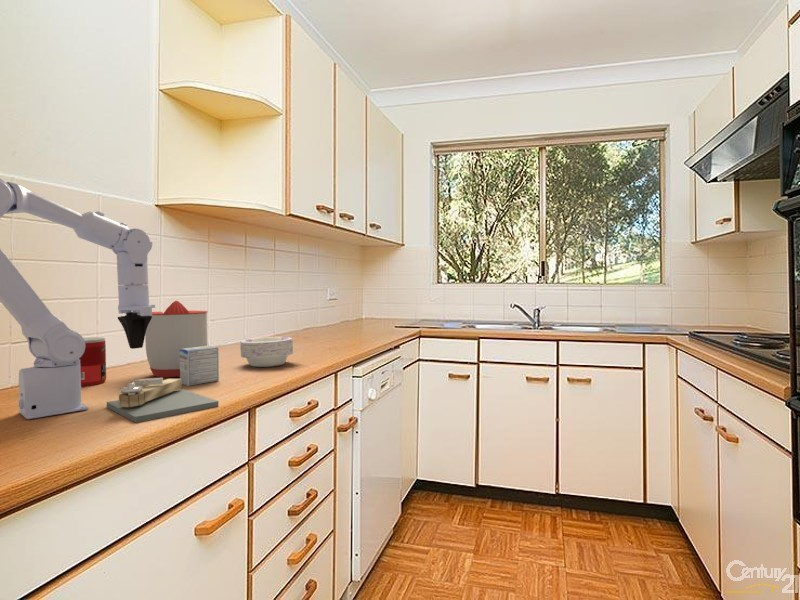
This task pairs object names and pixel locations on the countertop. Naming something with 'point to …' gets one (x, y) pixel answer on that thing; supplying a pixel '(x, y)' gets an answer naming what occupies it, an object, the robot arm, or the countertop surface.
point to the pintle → (131, 390)
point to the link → (149, 393)
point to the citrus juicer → (173, 337)
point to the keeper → (148, 381)
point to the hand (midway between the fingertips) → (136, 347)
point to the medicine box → (199, 365)
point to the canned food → (93, 362)
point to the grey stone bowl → (266, 351)
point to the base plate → (164, 406)
